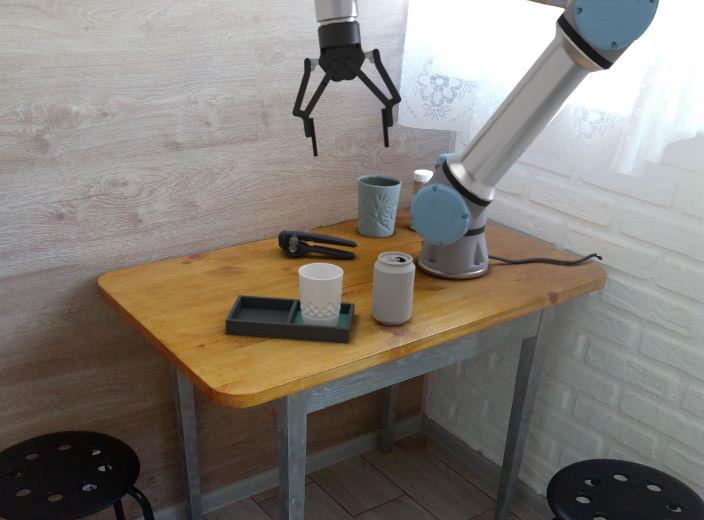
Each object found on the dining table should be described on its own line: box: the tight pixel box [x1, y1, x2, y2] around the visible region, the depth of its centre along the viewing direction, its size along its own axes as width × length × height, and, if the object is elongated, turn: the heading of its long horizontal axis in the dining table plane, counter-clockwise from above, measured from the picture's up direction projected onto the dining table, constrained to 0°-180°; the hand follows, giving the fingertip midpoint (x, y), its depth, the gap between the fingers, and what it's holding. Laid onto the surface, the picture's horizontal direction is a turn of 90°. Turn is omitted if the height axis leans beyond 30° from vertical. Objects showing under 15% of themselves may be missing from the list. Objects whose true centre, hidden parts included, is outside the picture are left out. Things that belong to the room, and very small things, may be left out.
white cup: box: [297, 262, 344, 327], centre depth 138 cm, size 8×8×10 cm
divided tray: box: [224, 294, 356, 344], centre depth 141 cm, size 22×11×3 cm, turn 84°
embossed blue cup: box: [357, 173, 403, 238], centre depth 181 cm, size 10×10×12 cm
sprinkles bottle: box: [409, 169, 434, 232], centre depth 183 cm, size 5×5×14 cm
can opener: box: [277, 229, 358, 260], centre depth 169 cm, size 18×7×6 cm, turn 83°
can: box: [371, 251, 416, 326], centre depth 142 cm, size 8×8×12 cm
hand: (351, 151), depth 146 cm, fingers open, 13 cm apart
